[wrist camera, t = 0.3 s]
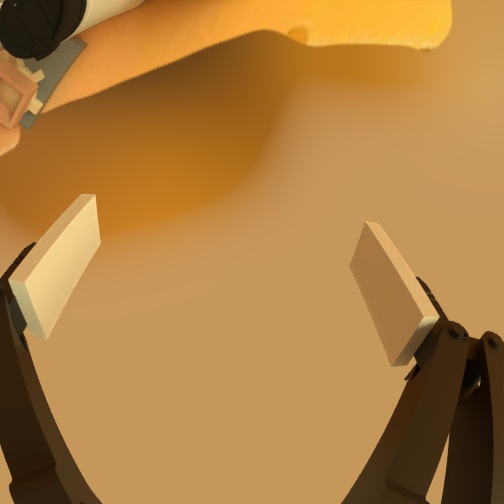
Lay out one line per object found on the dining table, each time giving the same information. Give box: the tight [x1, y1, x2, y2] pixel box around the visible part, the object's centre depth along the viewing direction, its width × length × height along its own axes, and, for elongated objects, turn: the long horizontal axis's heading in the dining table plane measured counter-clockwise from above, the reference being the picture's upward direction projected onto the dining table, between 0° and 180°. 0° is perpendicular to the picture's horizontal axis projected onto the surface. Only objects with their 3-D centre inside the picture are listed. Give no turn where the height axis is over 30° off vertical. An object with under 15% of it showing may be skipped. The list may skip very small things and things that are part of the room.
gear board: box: [0, 0, 87, 131], centre depth 24 cm, size 16×16×9 cm
